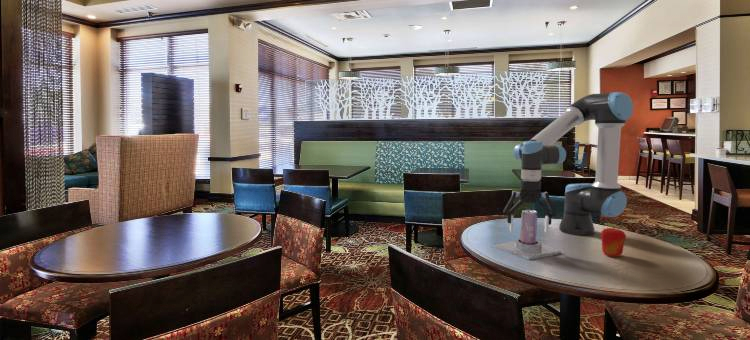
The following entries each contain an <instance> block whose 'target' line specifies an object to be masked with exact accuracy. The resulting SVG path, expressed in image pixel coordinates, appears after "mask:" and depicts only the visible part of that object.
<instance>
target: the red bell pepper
mask: <svg viewBox="0 0 750 340" xmlns="http://www.w3.org/2000/svg"><path fill="white" fill-rule="evenodd" d="M600 236H601V237H600V240H601V251H602V253H603V254H604V255H605V256H606V257H610V258H617V257H619V256H621V255H622V254H623V252H624V246H625V243H626V238H627V235H626V233H625V232H624V231H623V230H621V229H618V228H615V226H612V227H609V228H608V227H607V228H603V229H602V231H601V232H600Z"/></svg>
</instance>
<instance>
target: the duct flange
mask: <svg viewBox="0 0 750 340" xmlns="http://www.w3.org/2000/svg"><path fill="white" fill-rule="evenodd" d="M520 239H521V237H520V238H516V239H515V240H514V241H507V242H500V243H496V244H495V245H494V246H495V248H496V249H499V250H502V251H504V252H507V253H510V254H512V255H515V256H517V257H520V258H522V259H526V260H528V261H530V260H536V259H540V258H545V257H550V256H555V255H561V254H563V250H561V249H558V248H555V247H552V246H549V245H546V244H543V243H542V242H541V240H537V239H536V244H523V243H520Z"/></svg>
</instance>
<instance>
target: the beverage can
mask: <svg viewBox="0 0 750 340" xmlns="http://www.w3.org/2000/svg"><path fill="white" fill-rule="evenodd" d="M520 219H521V221H520V223H521V224H520V238H521V239H520V238H519V239H520V243H523V244H536V240H537V227H538V211H536V210H532V209H523V210H522V212H521V218H520Z"/></svg>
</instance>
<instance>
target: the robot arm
mask: <svg viewBox="0 0 750 340" xmlns="http://www.w3.org/2000/svg"><path fill="white" fill-rule="evenodd" d="M633 112H634V104H633V101H632V98H631V97H630V96H629V95H628V94H627V93H625V92H618V91H617V92H616V91H615V92H614V91H613V92H604V93H591V94H588V95H585V96H583V97H581V98H579V99H577V100H576V101H574V102H573V103H571V104H570V105H569V106H568V107H566V108H565V109H564V113H562V114H561V115H560V116H558V117H557V118H556V119H554V120H553V121H552V122H551V123H549V124H548V125H547V126H546V127H545V128H544V129H542V130H541V131H540V132H538V133H537V134H536V135H534V136H533V137H532V138H531V139H529V140H528V141H527V140H526V141H524V142H523V143H519V144H516V145H515V146H514V148H513V152H512V153H513V157H514V159H515V160H517V161H520V162H521V169H520V170H521V172H520V173H521V174H520V179H521V180H520V191H515V190H512V191H511V196H510V198H509V200H508V202H507V203H506V205H505V206H504V209H503V210H502V213H503V214H505V215H506V216H507V223H508V224H509V232H511V233H513V232H514V231H513V230H514V215H513V214H514V213H515V212H516V211H517V210H518V209H519V208H520V207H521V206H522V205H523V204H524V203H525V204H535V203H537V204H538V205H539V207H540V209H542V210H543V212H544V213H545V214H546V215H545V216H544V233H546V234H549V226H550V225H552V218H553V217H554V216H557V214H558V213H557V212H556V210H555V208H554V205H553V203H552V200H551V199H550V194H549V192H547V191H544V192H542V191H541V189H542V187H541V186H542V181H541V180H542V170H543V169H542V167H543V165H558V164H562V163H564V162H565V160H567V159H566V157H567V151H566V149H565V148H564V147H563V146H561V145H556V144H554V143H556V142H557V141H559V140H560V139H562V137H563V136H564V135H565V134H567V133H569V131H570V130H572V129H574V127H576V126H579V125H582V124H583V123H584V122H587V121H592V120H594V125H595V126H597V128H598V132H597V133H598V134H597V144H596V145H597V146H596V147H597V150H596V164H595V165H596V167H595V180H594V181H593V183H569V184H567V185H566V186H565V192H564V205H563V206H564V207H563V210H564V212H563V216H562V218H561V220H560V223H559V231H560V232H562V233H566V234H571V235H577V236H590V235H594V234H595V227H594V223H593V219H592V214H594V215H598V216H602V217H605V218H606V217H609V218H616V217H618V216H620V215H621V214H622V213H623V212H624V211H625V208H626V206H627V201H628V199H627V196H626V194H625V193H624V192H623V191H622V186H621V185H620V184H619V183H618V180H619V179H618V177H619V167H620V166H619V165H620V164H619V162H620V149H621V134H622V133H621V132H622V128H623V127H624V126H625V125H626V121H627V120H629V119H630V118H631V117H632V115H633ZM518 196H519V197H520V198H519V199H518V201H517V202H516V203H515V204H514V205H513V203H514V202H515V200H516V198H517V197H518ZM541 197H542V198H544V200H545V201H546V204H547V206H548V208H549V210H550V211H549V210H548V209H547V207H546V206H545V205H544V204H543V203H542V201H541V200H540V198H541ZM512 205H513V206H512Z"/></svg>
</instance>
